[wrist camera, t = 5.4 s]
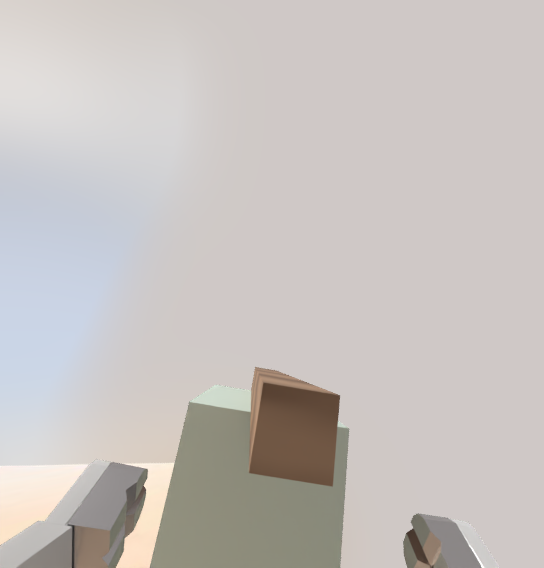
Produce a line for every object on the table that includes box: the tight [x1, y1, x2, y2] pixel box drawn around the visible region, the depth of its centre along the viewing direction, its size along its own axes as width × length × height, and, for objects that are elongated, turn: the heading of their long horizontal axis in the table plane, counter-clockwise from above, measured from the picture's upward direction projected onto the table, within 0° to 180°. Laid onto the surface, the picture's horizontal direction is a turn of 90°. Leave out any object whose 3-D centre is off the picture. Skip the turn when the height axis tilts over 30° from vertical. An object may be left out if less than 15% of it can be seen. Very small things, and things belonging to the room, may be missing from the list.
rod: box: [249, 367, 340, 487], centre depth 18 cm, size 22×2×2 cm, turn 4°
